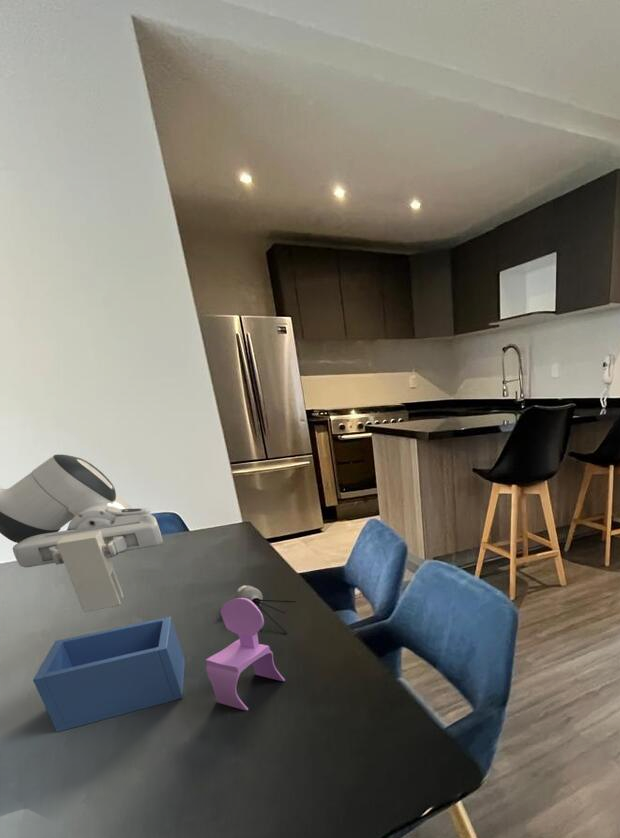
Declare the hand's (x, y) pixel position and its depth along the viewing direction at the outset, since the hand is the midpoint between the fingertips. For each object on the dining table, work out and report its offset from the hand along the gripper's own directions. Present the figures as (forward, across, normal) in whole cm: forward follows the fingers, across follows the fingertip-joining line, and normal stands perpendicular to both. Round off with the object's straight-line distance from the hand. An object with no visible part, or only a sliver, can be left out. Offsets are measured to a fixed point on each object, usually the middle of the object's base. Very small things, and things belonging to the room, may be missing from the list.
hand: (84, 555), depth 76 cm
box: (+7, +1, +22) cm, 23 cm away
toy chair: (+17, +19, +22) cm, 33 cm away
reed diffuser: (-9, +23, +22) cm, 33 cm away
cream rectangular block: (-1, 0, +9) cm, 9 cm away
